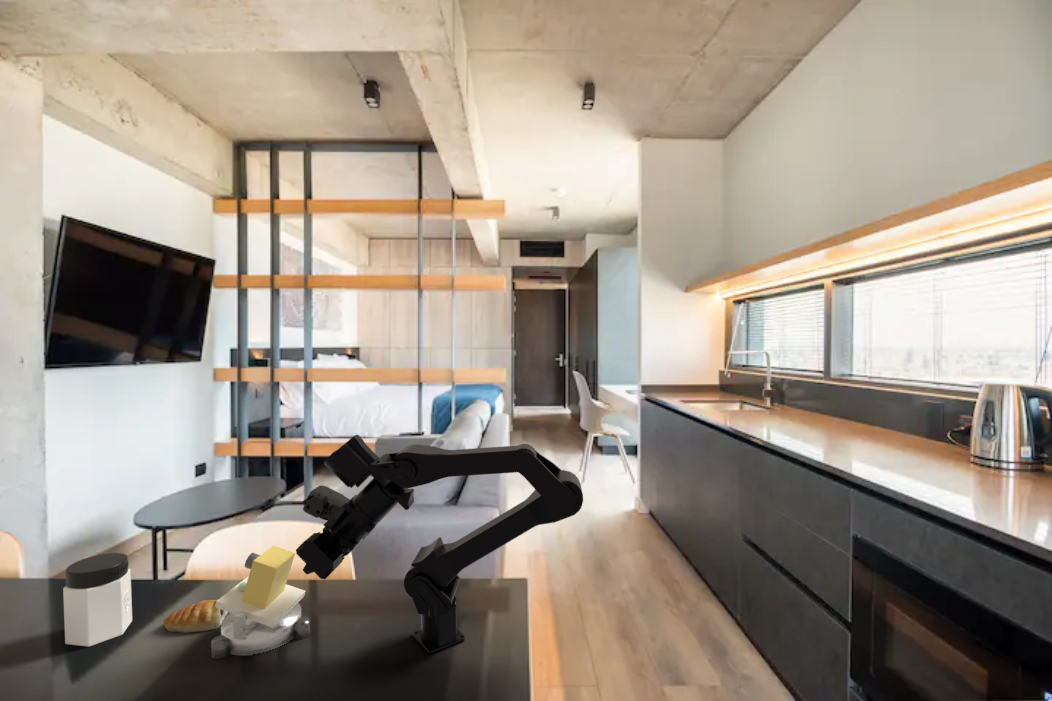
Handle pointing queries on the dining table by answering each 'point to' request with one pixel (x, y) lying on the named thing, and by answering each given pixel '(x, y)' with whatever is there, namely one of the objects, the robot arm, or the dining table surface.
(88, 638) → the jar
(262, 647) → the tribrach base
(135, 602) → the dining table surface
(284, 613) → the instrument
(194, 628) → the pastry
